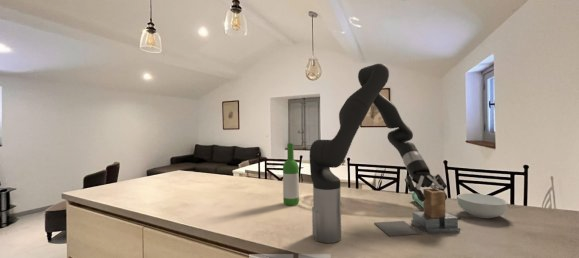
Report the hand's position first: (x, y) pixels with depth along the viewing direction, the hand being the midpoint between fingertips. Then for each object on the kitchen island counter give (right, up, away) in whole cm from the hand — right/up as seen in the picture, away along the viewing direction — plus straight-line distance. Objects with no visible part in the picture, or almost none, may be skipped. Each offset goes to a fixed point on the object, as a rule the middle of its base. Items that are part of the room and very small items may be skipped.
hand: (434, 200), depth 94 cm
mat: (-14, -10, 0) cm, 17 cm away
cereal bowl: (+27, -10, +13) cm, 32 cm away
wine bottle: (-52, -11, +33) cm, 63 cm away
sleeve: (0, -5, 0) cm, 5 cm away
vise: (+2, -10, 0) cm, 10 cm away
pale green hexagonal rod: (+9, -11, +22) cm, 26 cm away
